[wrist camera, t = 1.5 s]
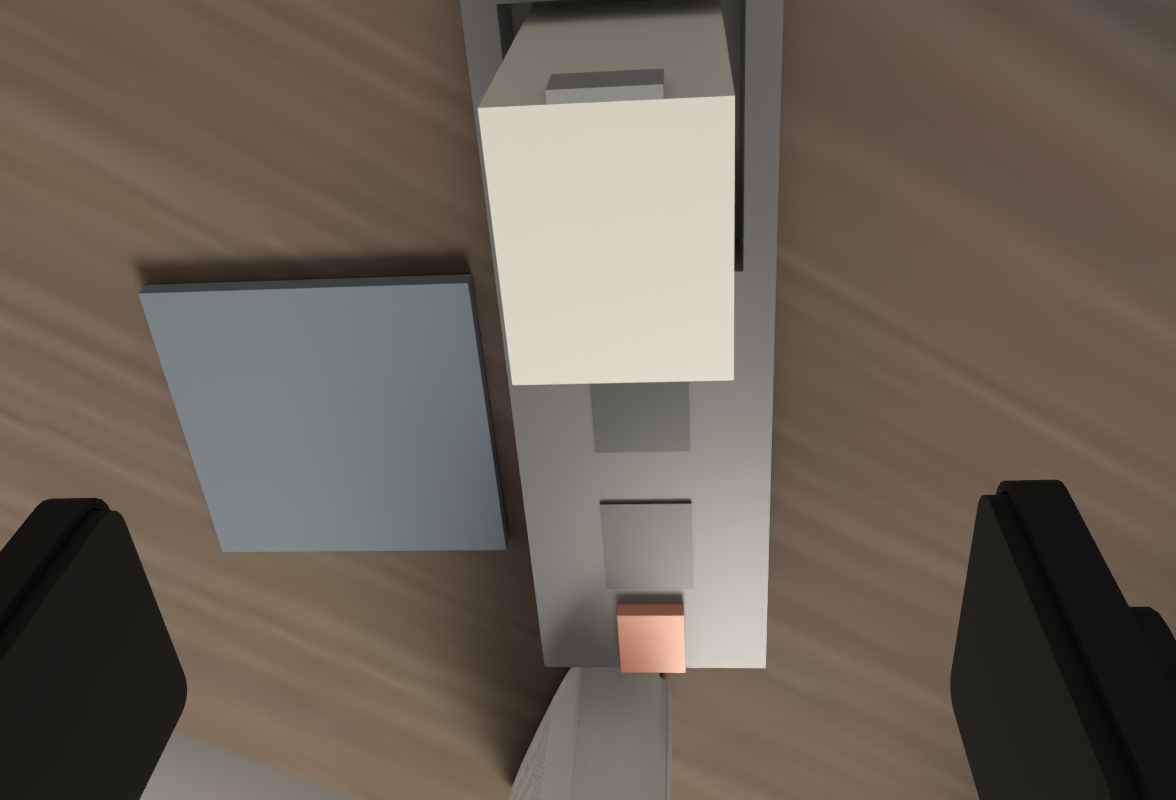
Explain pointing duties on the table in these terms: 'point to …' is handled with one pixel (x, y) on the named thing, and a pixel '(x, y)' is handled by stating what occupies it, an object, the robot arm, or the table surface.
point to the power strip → (658, 428)
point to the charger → (615, 193)
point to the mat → (334, 411)
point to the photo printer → (601, 740)
